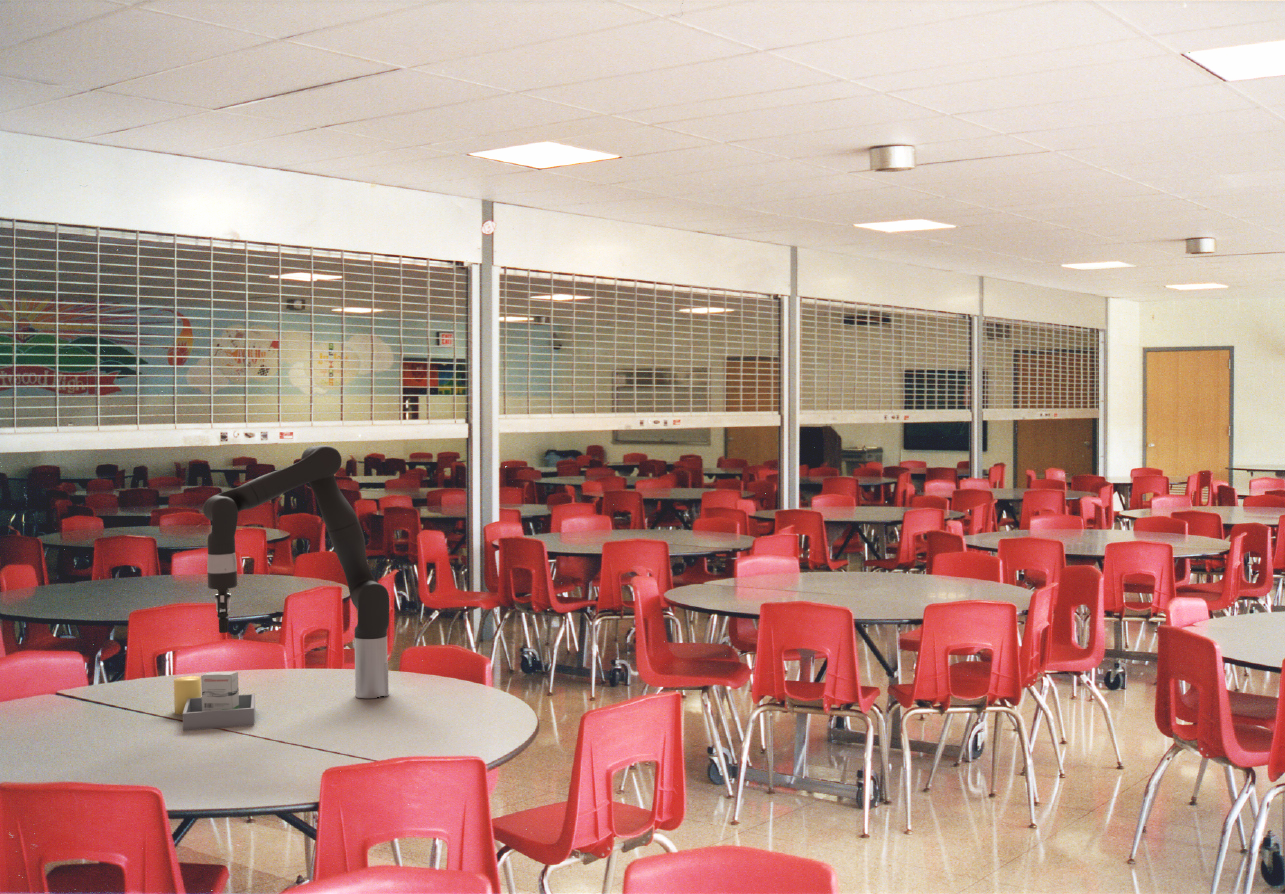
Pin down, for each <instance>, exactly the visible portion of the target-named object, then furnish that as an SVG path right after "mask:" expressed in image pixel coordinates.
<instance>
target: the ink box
mask: <svg viewBox="0 0 1285 894" xmlns="http://www.w3.org/2000/svg"><path fill="white" fill-rule="evenodd" d="M200 677H201V697H202V711H215V710H229V709H239V695H240V693H239V672H238V671H209V672H207V673H204V674H201V676H200Z"/></svg>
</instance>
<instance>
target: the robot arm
mask: <svg viewBox="0 0 1285 894" xmlns="http://www.w3.org/2000/svg"><path fill="white" fill-rule="evenodd" d="M341 466H342V456H341V453H340V452H339V451H338V449H336V448H335V447H333V446H331V445H325V444H323V445H313V446H309V447H307V448H306V449H305V450H304V451H303V452H302V454H301V458H300V460H299V461H298V462H296V463H293V464H292V465H289V466H286V467H284V468H282V469H277V470H275V471H272V472H268V473H266V474H263V475H260V476H259V477H256V478H253V479H251V480H249V481H247V482H246V483H243V484H242V485H240V486H238V487H235V488H232V489H228V490H226V491H222V492H220V493H217V494H214V495H212V496H211V497H209V498H207V499H206V501H205V502H204V504H203V507H202V511H203V512H202V513H203V515H204V516H205V518H206V519H207V520H209V521H211V523H212V524H211V532H210V533H209V534H208V536H207V562H206V566H207V569H206V570H207V587H208V589H210V590H216V591H218V592H217V594H215V595H214V602H215V611H216V612H217V619H218V631H219V633H220V634H226V633H228V632H229V625H230V623H229V619H230V618H229V617H230V616H229V612H230V610H231V600H232V593H229V591H230V589H234V588H236V587H238V568H237V567H238V564H237V563H238V562H237V556H236V555H237V553H236V537H235V536H236V531H237V526H238V520H239V519H238V518H239V512H241V511H244V510H245V511H246V510H251V509H254V508H257V507H258V506H260V505H263V504H265V503H266V502H269V501H271V500H273V499H275V498H277V497H279V496H281V495H283V494H285V493H287V492H289V491H291V490H293V489H296V488H297V487H300V486H303V485H306V484H308V483H309V487H311V490H312V492H313V494H314V496H315V499H316V502H317V505H318V507H319V510H320V514H321V516H322V520H323V521H324V525H325V527H326V530H327V534H328V536H329V539H330V542H331V543H332V546H333V548H334V551H335V554H336V556H337V559H338V561H339V564H340V565H341V568H342V570H343V573H344V577H345V579H346V583H347V584H346V585H347V588H348V591H349V596H350V600H351V602H352V605H353V606H354V608H355V609H357V625H356V626H355V628H354V677H355V680H354V681H355V682H354V683H355V684H354V686H355V687H354V690H355V693H354V696H355V698H359V699H378V698H377V697H379V698H381V697H380V696H384V697H388V695H389V693H390V691H389V662H388V629H389V626H390V625H389V624H390V596H389V591H388V589H387V588H386V587H385V586H384V585H383V584H381V583H379V582H377V581H376V579H375V577H374V575H373V573H372V570H371V569H370V566H369V563H368V560H367V552H366V541H365V536H364V532H363V529H362V526H361V523H360V520H359V518H358V516H357V513H356V511H355V510H354V508H353V507H352V505H351V504H350V502H349V501H348V499H347V498H346V497H345V496H344V494H343V493H342V491H341V490H340V488H339V485H338V483H337V480H336V476H335V474H337V473H338V471H339V470H340V469H341Z"/></svg>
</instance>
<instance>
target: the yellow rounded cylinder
mask: <svg viewBox="0 0 1285 894" xmlns="http://www.w3.org/2000/svg"><path fill="white" fill-rule="evenodd" d="M173 696H174V697H173V698H174V699H173V701H174V702H173V703H174V709H173V710H174V714H176V715H183V711H184V708H185V705H186V702H187V698H200V697H202V689H201V676H195V675H193V676H190V675H188V676H181V677H177V678H174V679H173Z"/></svg>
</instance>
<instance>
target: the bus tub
mask: <svg viewBox="0 0 1285 894" xmlns="http://www.w3.org/2000/svg"><path fill="white" fill-rule="evenodd" d="M255 717H256V694H255V693H245V694H239V709H229V710H215V711H202V696H201V697H200V698H187V702H186V705H185V708H184V711H183V714H182V731H183V732H184V731H185V732H187V731H197V730H211V729H223V728H236V727H249V726H251V727H252V726H255Z"/></svg>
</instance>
